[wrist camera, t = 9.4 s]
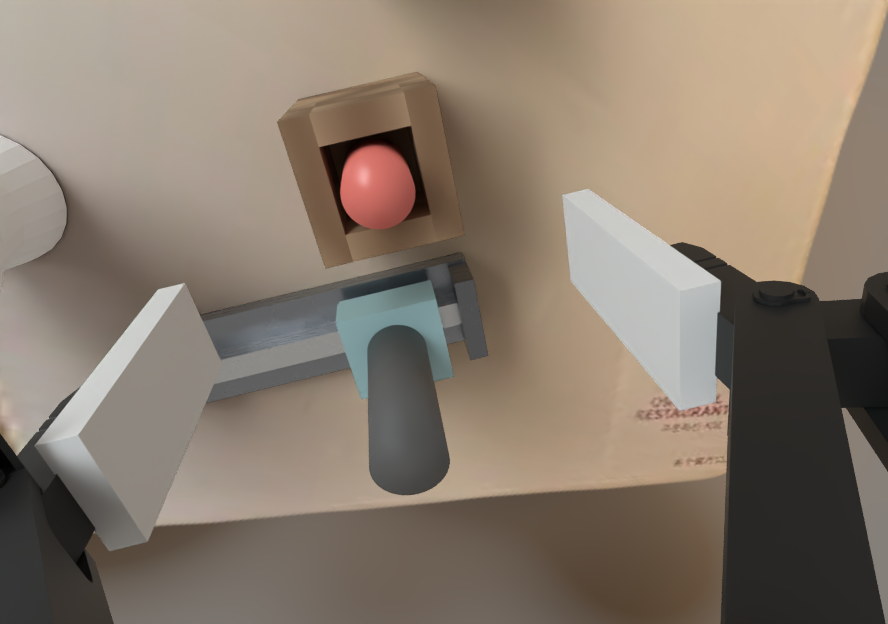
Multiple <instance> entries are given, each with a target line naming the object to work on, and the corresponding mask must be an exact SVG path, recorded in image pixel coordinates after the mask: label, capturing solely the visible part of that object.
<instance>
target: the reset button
mask: <svg viewBox="0 0 888 624" xmlns="http://www.w3.org/2000/svg"><path fill="white" fill-rule="evenodd" d="M340 195H341V201H342V204H343V207H344V209H345V211H346V212H347V214H348V215H349V216H350V217H351V218H352V219H353V220H354V221H355V222H357V223H358V224H360V225H362V226H364V227H367V228H370V229H387V228H390V227H393V226H395V225H397V224H399V223H400V222H402V221H403V220H404V219H405V218H406V217H407V216H408V214H409V213H410V211H411V209H412V207H413V205H414V201H415V185H414V182H413V179H412V176H411V173H410V170H409V167H408V164H407V161H406V158H405V156H404V154H403V153H402V151H401V150H400V149H399V148H398V147H397V146H396V145H395V144H394V143H392V142H391V141H389V140H386V139H383V138H377V137H372V138H367V139H363V140H361V141H359V142H358V143H356V144H355V145H354V146H353V147H352V148H351V149H350V150H349V152H348V153H347V155H346V158H345V161H344V166H343V173H342V181H341V188H340Z"/></svg>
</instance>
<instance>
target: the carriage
mask: <svg viewBox="0 0 888 624" xmlns="http://www.w3.org/2000/svg"><path fill="white" fill-rule="evenodd" d="M336 326H337V329H338V332H339V335H340V338H341V341H342V344H343V347H344V350H345V353H346V356H347V358H348V361H349V364H350V367H351V370H352V373H353V376H354V379H355V382H356V385H357V388H358V391H359V394H360V397H361V399H365V398H368V423H369V470H370V474H371V477H372V479H373V480H374V482H375V483H376V484H377V485H378V486H379V487H381V488H382V489H384V490H385V491H388V492H390V493H393V494H398V495H414V494H419V493H422V492H425V491H427V490H429V489H431V488H433V487H435V486H436V485H437V484H438V483H440V482H441V480H442V479H443V478H444V477H445V475H446V473H447V472H448V469H449V464H450V458H449V453H448V448H447V443H446V438H445V433H444V428H443V423H442V419H441V414H440V409H439V404H438V399H437V394H436V389H435V385H434V382H435V381H439V380H443V379H447V378H451V377H454V374H453V370H452V366H451V361H450V357H449V353H448V348H447V344H446V340H445V336H444V331H443V327H442V323H441V318H440V314H439V310H438V306H437V301H436V297H435V294H434V290H433V287H432V283H431V280H428V281H424V282H420V283H416V284H411V285H407V286H403V287H399V288H395V289H391V290H386V291H382V292H378V293H374V294H370V295H366V296H361V297H357V298H353V299H349V300H345V301H341V302H339V304H338V305H337V314H336Z"/></svg>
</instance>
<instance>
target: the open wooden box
mask: <svg viewBox="0 0 888 624" xmlns="http://www.w3.org/2000/svg"><path fill="white" fill-rule="evenodd" d="M277 123H278V126H279V129H280V132H281V135H282V138H283V141H284V144H285V147H286V150H287V153H288V156H289V160H290V163H291V166H292V169H293V172H294V175H295V178H296V181H297V184H298V187H299V190H300V193H301V196H302V199H303V202H304V205H305V208H306V211H307V214H308V217H309V220H310V223H311V226H312V229H313V232H314V235H315V239H316V242H317V245H318V248H319V251H320V254H321V257H322V260H323V263H324V266H325V268H330V267H334V266H338V265H342V264H346V263H351V262H355V261H359V260H363V259H367V258H371V257H376V256H380V255H384V254H388V253H392V252H397V251H401V250H405V249H409V248H413V247H418V246H422V245H426V244H430V243H434V242H438V241H443V240H447V239H451V238H455V237H459V236H464V230H463V225H462V220H461V215H460V209H459V204H458V199H457V194H456V189H455V184H454V179H453V173H452V168H451V163H450V158H449V153H448V148H447V142H446V137H445V132H444V127H443V122H442V117H441V112H440V106H439V101H438V96H437V91H436V86H435V85H434V84H433V83H432V82H430V81H429V80H427V79H426V78H425V77H423V76H422V75H421V74H419V73H418V72H415V73H411V74H407V75H402V76H398V77H394V78H389V79H385V80H381V81H376V82H372V83H368V84H363V85H359V86H355V87H350V88H346V89H342V90H337V91H333V92H328V93H324V94H320V95H315V96H311V97H307V98H302V99H298V100H297V101H296V102H295V104H294V105H293V106H292V107H291V108H290V109H289V110H288V111H287V112H286V113H285V114H284V115H283V116H282V117H281V118H280V119H279V121H278V122H277ZM372 137H377V138H383V139H386V140H389V141H391V142H392V143H394V144H395V145H396V146H397V147H398V148H399V149H400V150H401V151H402V153H403V154H404V156H405V158H406V161H407V164H408V167H409V170H410V173H411V176H412V179H413V182H414V185H415V201H414V205H413V207H412V209H411V211H410V213H409V214H408V216H407V217H406V218H405V219H404V220H403V221H402V222H400V223H399V224H397V225H395V226H393V227H390V228H387V229H370V228H367V227H364V226H362V225H360V224H358V223H357V222H355V221H354V220H353V219H352V218H351V217H350V216H349V215H348V214H347V212H346V211H345V209H344V207H343V204H342V201H341V195H340V188H341V181H342V173H343V166H344V161H345V158H346V155H347V153H348V152H349V150H350V149H351V148H352V147H353V146H354V145H355V144H356V143H358V142H359V141H361V140H363V139H367V138H372Z"/></svg>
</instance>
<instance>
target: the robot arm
mask: <svg viewBox="0 0 888 624" xmlns="http://www.w3.org/2000/svg"><path fill="white" fill-rule="evenodd" d="M562 197H563V207H564V218H565V228H566V238H567V248H568V258H569V269H570V279H571V282H572V283H573V284H574V285H575V287H576V288H577V289H578V290H579V291H580V293H581V294H582V295H583V296H584V297H585V299H586V300H587V301H588V302H589V303H590V305H591V306H592V307H593V308H594V309H595V311H596V312H597V313H598V314H599V315H600V317H601V318H602V319H603V320H604V321H605V322H606V324H607V325H608V326H609V327H610V328H611V330H612V331H613V332H614V333H615V334H616V336H617V337H618V338H619V339H620V340H621V342H622V343H623V344H624V345H625V346H626V348H627V349H628V350H629V351H630V352H631V353H632V355H633V356H634V357H635V358H636V359H637V361H638V362H639V363H640V364H641V365H642V367H643V368H644V369H645V370H646V371H647V373H648V374H649V375H650V376H651V377H652V379H653V380H654V381H655V382H656V383H657V385H658V386H659V387H660V388H661V389H662V390H663V392H664V393H665V394H666V395H667V396H668V398H669V399H670V400H671V401H672V402H673V404H674V405H675V406H676V407H677V408H678V410H679V411H681V410H685V409H689V408H693V407H697V406H702V405H706V404H710V403H714V402H716V387H717V378H718V379H719V380H720V381H721V382H722V383H724V384H725V385H726V386H727V387H728V388H729V389H730V397H729V415H728V432H727V436H728V445H727V472H726V498H725V499H726V500H725V525H724V551H723V577H722V578H723V579H722V603H721V624H885V619H884V614H883V609H882V604H881V599H880V595H879V590H878V585H877V580H876V576H875V570H874V565H873V560H872V556H871V551H870V546H869V541H868V536H867V531H866V526H865V522H864V517H863V512H862V507H861V502H860V497H859V492H858V487H857V483H856V477H855V473H854V468H853V463H852V458H851V453H850V448H849V444H848V438H847V434H846V429H845V424H844V419H843V414H842V409H841V408H846V409H847V410H848V412H849V413H850V415H851V416H852V418H853V419H854V421H855V422H856V424H857V425H858V427H859V428H860V430H861V431H862V433H863V434H864V436H865V437H866V439H867V441H868V442H869V444H870V445H871V447H872V448H873V450H874V451H875V453H876V454H877V456H878V457H879V459H880V460H881V462H882V463H883V465H884V466H885V468H886V469H887V471H888V272H884V273H878V274H876V275H874V276H872V277H869V278H868V279H867V281H866V283H865V284H864V290H863V295H862V299H852V300H837V301H819V298H818V297H817V295H816V294H815V292H814V291H812V290H810V289H808V288H807V287H805V286H802V285H798V284H795V283H791V282H783V281H762V282H756V281H754V280H753V279H751V278H749V277H748V276H746V275H745V274H743V273H742V272H740V271H738V270H737V269H735V268H734V267H732V266H731V265H727V263H726V262H724V261H723V260H721V259H719V258H716V256H715V255H713V254H712V253H710V252H708V251H707V250H705V249H704V248H702V247H698V246H694V245H691V244H687V243H683V242H681V243H677V244H673V245H668V244H667V243H665V242H664V241H663V240H661V239H660V238H658V237H657V236H655V235H654V234H653V233H651V232H650V231H648V230H647V229H645V228H644V227H642V226H641V225H640V224H638V223H637V222H635V221H634V220H632V219H631V218H629V217H628V216H627V215H625V214H624V213H622V212H621V211H619V210H618V209H616V208H615V207H614V206H612V205H611V204H609V203H608V202H606V201H605V200H604V199H602V198H601V197H599V196H598V195H596V194H595V193H593V192H592V191H591V190H589V189H586V190H581V191H577V192H573V193H568V194H564V195H562ZM221 366H222V362H221V360H220V358H219V356H218V353H217V351H216V349H215V347H214V345H213V343H212V340H211V338H210V336H209V334H208V332H207V330H206V327H205V325H204V323H203V321H202V319H201V317H200V314H199V312H198V310H197V308H196V306H195V303H194V301H193V299H192V297H191V295H190V293H189V290H188V288H187V286H186V284H185V283H183V284H179V285H175V286H170V287H166V288H162V289H158V290H157V291H156V293H155V294H154V295H153V296H152V298H151V299H150V300H149V301H148V303H147V304H146V305H145V307H144V308H143V309H142V310H141V312H140V313H139V314H138V315H137V317H136V318H135V319H134V320H133V322H132V323H131V324H130V325H129V327H128V328H127V329H126V331H125V332H124V333H123V334H122V336H121V337H120V338H119V339H118V341H117V342H116V343H115V344H114V346H113V347H112V348H111V350H110V351H109V352H108V353H107V355H106V356H105V357H104V358H103V360H102V361H101V362H100V363H99V365H98V366H97V367H96V368H95V370H94V371H93V372H92V374H91V375H90V376H89V377H88V379H87V380H86V381H85V382H84V384H83V385H82V386H81V387H80V388H78V389H77V390H76V391H74V392H73V393H72V394H71V395H69V396H68V397H67V398H65V399H64V400H63V401H62V402H61V403H60V404H59V405H58V406H57V408H56V409H55V410H54V411H53V412H52V414H51V415H50V416H49V419H48V420H46V421H45V422H44V424H43V425H42V426H41V427H40V428H39V432H36V433H35V435H34V436H33V437H32V438H31V440H30V441H29V442H28V443H27V444H26V446H25V447H24V448H23V449H22V451H21V452H20V453H19V454H18V456H16V454H15V453H14V452H13V450H12V449H11V448H10V446H9V445H8V444H7V442H6V441H5V439H4V438H3V437H2V435H1V434H0V624H114V623H113V620H112V616H111V613H110V610H109V606H108V603H107V600H106V596H105V593H104V590H103V587H102V584H101V580H100V577H99V573H98V570H97V567H96V563H95V561H94V560H93V559H92V557H91V556H90V555H89V553H88V552H87V551H86V549H85V547H86V545H87V543H88V541H89V540H90V538H91V536H92V534H93V532H94V530H95V532H96V533H97V535H98V536H99V537H100V539H101V540H102V542H103V543H104V544H105V546H106V547H107V549H108V550H109V551H112V550H116V549H120V548H124V547H128V546H132V545H136V544H140V543H144V542H148V539H149V537H150V535H151V532H152V530H153V528H154V525H155V523H156V520H157V518H158V516H159V513H160V511H161V509H162V506H163V504H164V501H165V499H166V497H167V494H168V492H169V489H170V487H171V485H172V482H173V480H174V478H175V475H176V473H177V470H178V468H179V466H180V463H181V461H182V459H183V456H184V454H185V451H186V449H187V447H188V444H189V442H190V440H191V437H192V435H193V432H194V430H195V428H196V425H197V423H198V421H199V418H200V416H201V413H202V411H203V409H204V406H205V404H206V401H207V399H208V397H209V394H210V392H211V390H212V387H213V385H214V382H215V380H216V378H217V375H218V373H219V371H220V368H221Z"/></svg>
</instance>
